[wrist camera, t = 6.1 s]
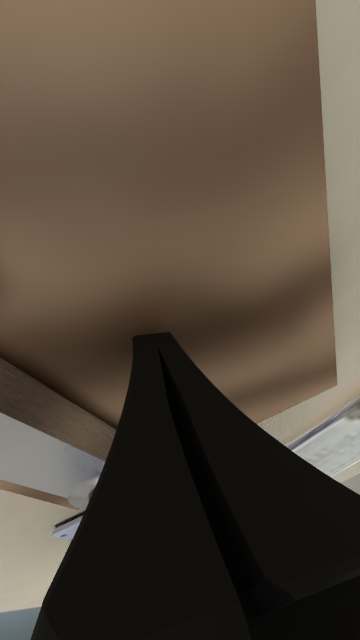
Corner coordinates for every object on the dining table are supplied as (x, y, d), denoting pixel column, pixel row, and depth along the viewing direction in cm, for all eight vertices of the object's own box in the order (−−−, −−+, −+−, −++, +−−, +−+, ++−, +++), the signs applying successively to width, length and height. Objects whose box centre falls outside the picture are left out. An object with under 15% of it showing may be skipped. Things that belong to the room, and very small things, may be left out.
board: (326, 372, 17) (337, 384, 16) (78, 493, 19) (77, 509, 18) (258, -275, 4) (295, -357, 3) (-512, 299, 6) (-598, 328, 5)
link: (161, 449, 15) (170, 497, 13) (102, 478, 16) (103, 529, 14) (-216, 199, 5) (-389, 252, 3) (-350, 299, 6) (-575, 397, 4)
